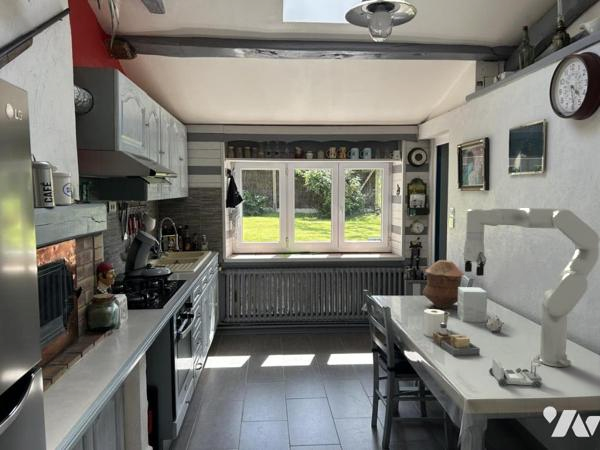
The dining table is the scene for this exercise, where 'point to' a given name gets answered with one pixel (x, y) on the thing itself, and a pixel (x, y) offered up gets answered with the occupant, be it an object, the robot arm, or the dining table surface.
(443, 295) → the pottery vessel
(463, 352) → the tray
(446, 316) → the flower pot
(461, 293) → the supplement box
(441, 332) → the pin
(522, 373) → the toy car
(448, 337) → the square wooden socket
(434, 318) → the toilet paper
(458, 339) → the oak block
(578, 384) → the dining table surface
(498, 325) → the game die
